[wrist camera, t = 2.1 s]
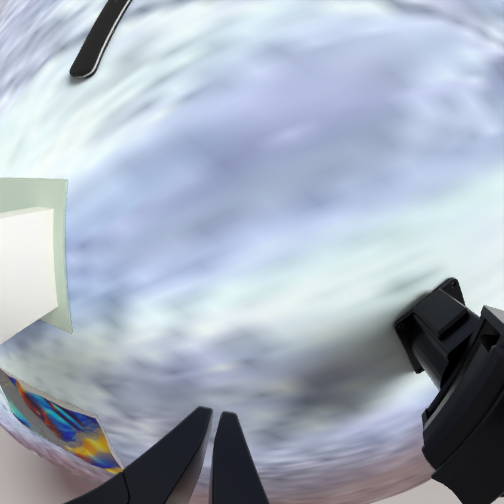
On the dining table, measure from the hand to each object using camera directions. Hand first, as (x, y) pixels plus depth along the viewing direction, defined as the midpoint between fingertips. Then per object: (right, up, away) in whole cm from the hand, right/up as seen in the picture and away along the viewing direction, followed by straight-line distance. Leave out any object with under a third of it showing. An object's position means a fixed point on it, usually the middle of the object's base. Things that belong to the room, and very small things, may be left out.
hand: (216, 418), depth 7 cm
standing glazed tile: (-17, +4, +12) cm, 22 cm away
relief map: (-30, -21, +20) cm, 42 cm away
